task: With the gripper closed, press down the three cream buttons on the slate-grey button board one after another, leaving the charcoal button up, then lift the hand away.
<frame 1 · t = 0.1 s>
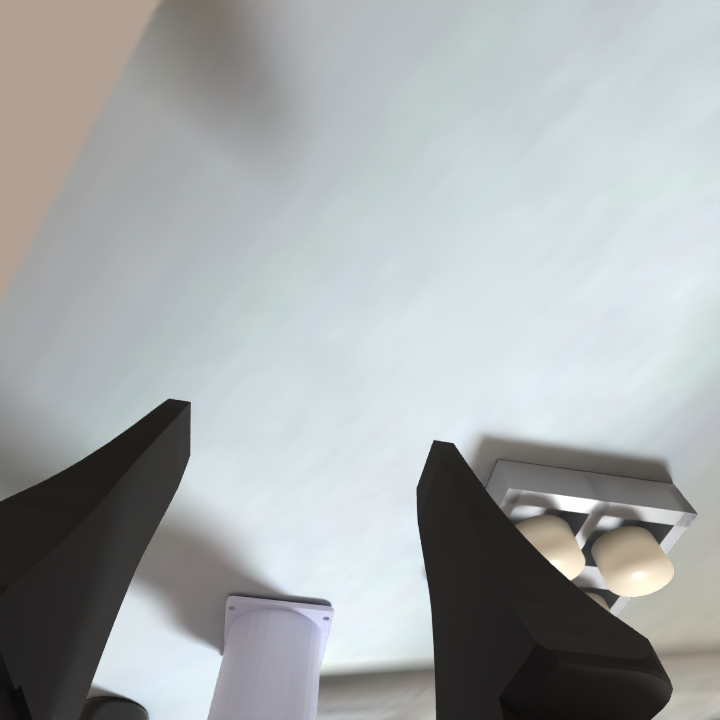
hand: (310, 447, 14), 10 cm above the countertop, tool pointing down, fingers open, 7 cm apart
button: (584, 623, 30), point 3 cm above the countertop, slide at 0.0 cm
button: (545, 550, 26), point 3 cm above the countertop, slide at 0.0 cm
supplement bottle: (116, 709, 43), on the countertop
button board: (546, 542, 31), on the countertop
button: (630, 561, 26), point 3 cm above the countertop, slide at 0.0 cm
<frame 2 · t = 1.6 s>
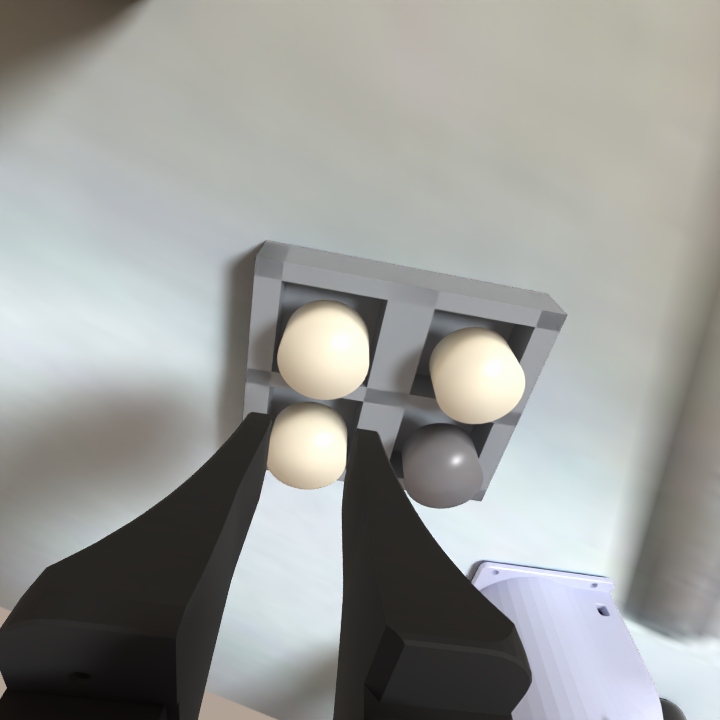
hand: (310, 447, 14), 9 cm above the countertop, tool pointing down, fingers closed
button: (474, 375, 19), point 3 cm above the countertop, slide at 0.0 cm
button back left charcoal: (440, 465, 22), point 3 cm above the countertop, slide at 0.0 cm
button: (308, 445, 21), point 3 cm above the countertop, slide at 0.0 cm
supplement bottle: (638, 711, 41), on the countertop
button board: (384, 372, 23), on the countertop
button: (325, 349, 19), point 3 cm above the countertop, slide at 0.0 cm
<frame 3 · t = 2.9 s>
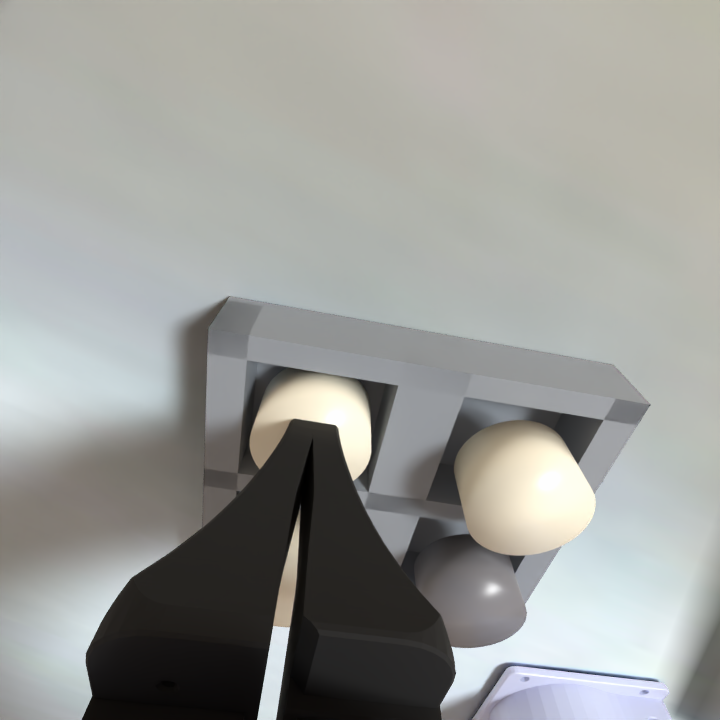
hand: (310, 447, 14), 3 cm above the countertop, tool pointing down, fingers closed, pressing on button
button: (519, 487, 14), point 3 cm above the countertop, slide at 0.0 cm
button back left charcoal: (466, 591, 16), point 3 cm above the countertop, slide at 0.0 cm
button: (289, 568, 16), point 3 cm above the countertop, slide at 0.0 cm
button board: (391, 458, 18), on the countertop
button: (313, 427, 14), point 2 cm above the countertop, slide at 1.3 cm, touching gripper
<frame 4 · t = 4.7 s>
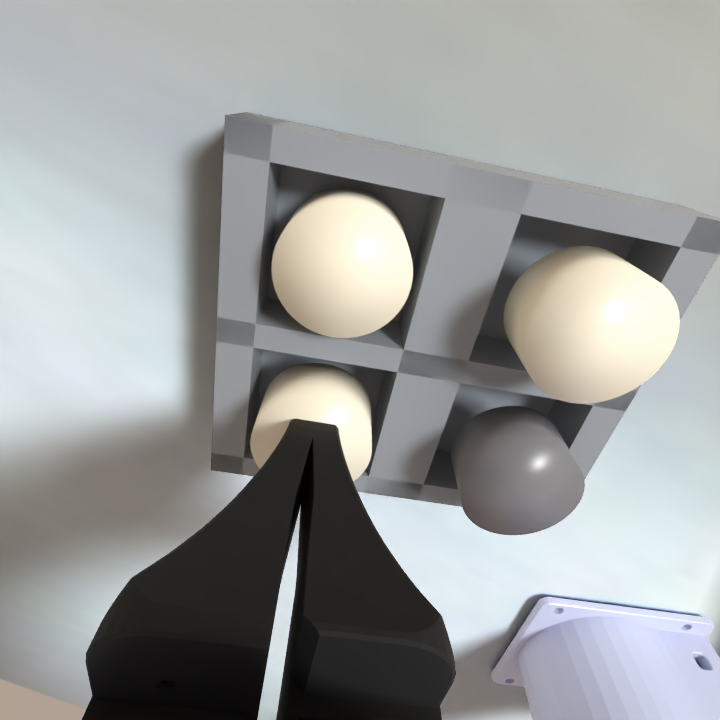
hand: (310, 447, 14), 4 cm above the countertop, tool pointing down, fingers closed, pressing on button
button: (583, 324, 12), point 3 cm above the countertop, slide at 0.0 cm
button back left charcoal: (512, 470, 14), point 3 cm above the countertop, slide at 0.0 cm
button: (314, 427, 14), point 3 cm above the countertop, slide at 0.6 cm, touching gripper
button board: (424, 332, 16), on the countertop
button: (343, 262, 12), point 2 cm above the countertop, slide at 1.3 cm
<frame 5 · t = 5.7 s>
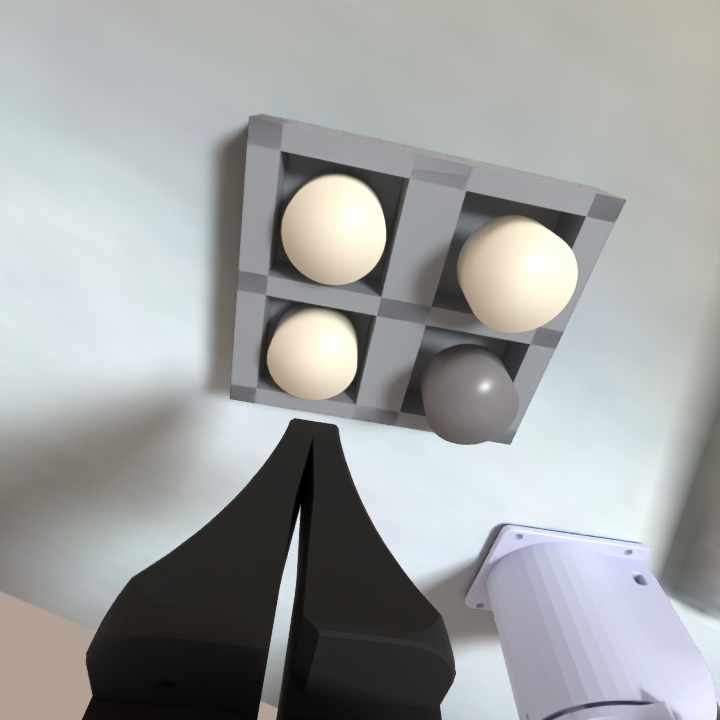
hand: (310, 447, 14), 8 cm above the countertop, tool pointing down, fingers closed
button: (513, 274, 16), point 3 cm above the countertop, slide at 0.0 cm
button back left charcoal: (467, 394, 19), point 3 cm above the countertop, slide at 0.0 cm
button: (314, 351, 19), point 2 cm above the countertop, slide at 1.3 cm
button board: (400, 289, 20), on the countertop
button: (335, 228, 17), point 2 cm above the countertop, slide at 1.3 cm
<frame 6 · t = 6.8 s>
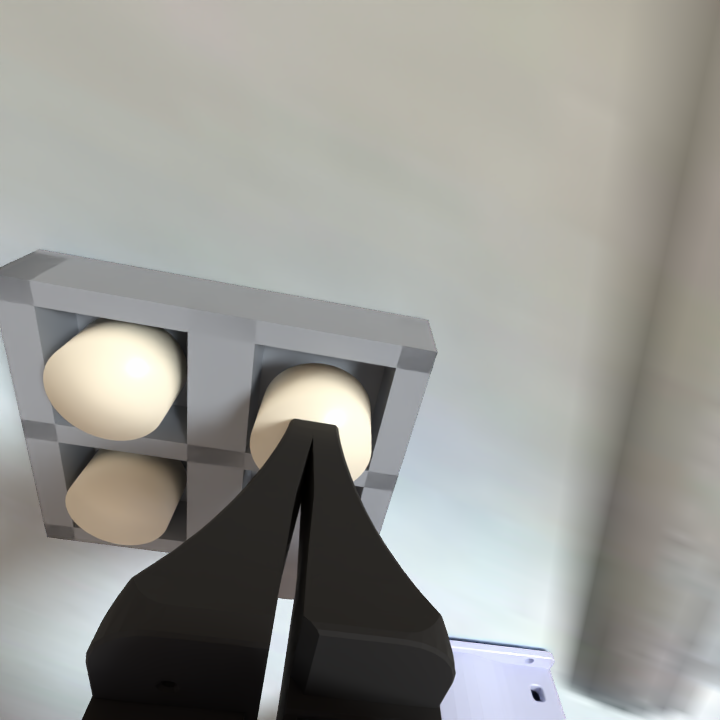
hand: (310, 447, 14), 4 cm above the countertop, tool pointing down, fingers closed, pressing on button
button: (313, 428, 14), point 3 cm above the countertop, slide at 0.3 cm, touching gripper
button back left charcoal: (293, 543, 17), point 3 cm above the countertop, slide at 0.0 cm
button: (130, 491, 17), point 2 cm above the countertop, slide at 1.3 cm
button board: (232, 417, 18), on the countertop
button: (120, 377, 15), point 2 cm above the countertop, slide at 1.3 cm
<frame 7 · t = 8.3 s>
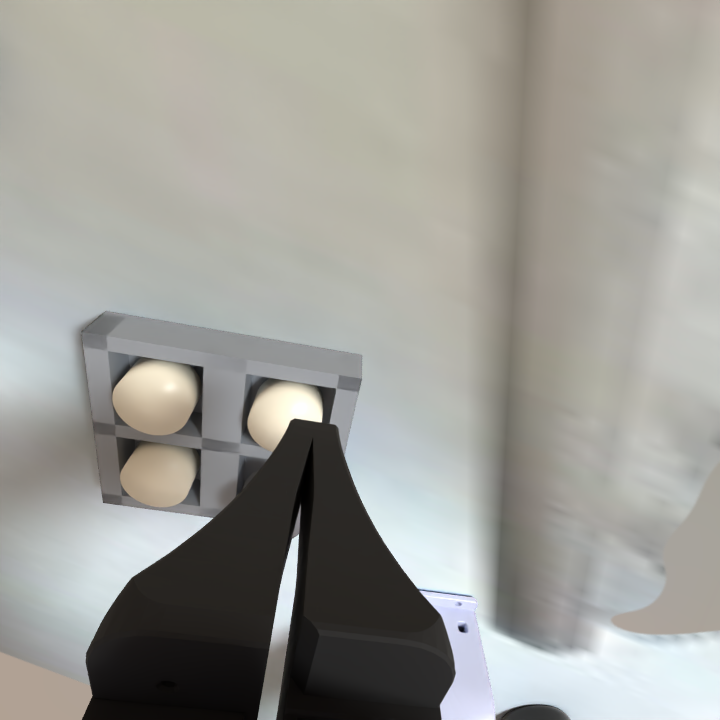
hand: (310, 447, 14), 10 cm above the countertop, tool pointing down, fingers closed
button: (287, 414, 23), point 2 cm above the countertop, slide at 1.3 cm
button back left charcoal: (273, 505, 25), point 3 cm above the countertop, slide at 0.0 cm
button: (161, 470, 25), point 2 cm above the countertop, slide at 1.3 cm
supplement bottle: (532, 717, 44), on the countertop
button board: (231, 419, 26), on the countertop
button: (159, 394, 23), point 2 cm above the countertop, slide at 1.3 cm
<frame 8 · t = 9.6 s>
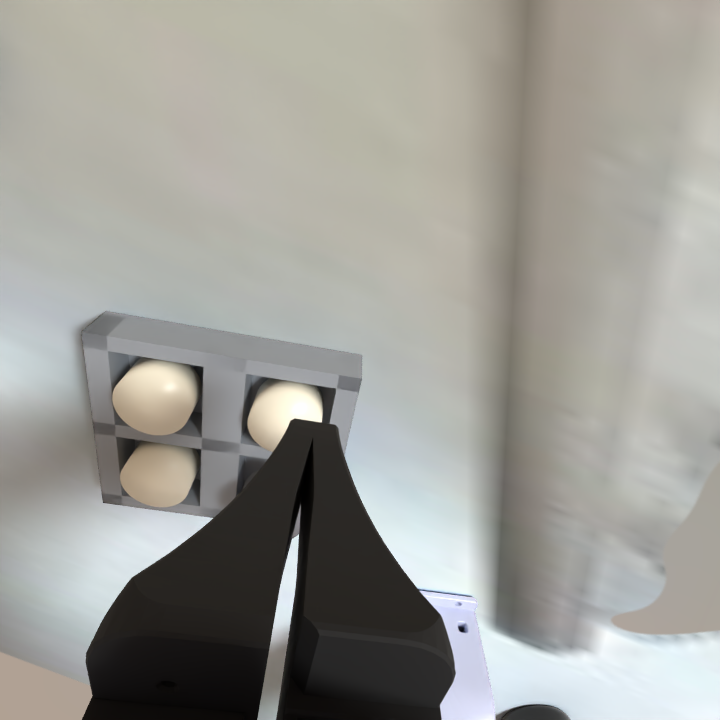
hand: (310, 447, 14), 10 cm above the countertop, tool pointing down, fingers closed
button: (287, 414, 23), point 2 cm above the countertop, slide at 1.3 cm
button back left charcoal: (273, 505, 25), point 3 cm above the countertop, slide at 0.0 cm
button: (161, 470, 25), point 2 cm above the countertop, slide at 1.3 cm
supplement bottle: (532, 717, 44), on the countertop
button board: (231, 419, 26), on the countertop
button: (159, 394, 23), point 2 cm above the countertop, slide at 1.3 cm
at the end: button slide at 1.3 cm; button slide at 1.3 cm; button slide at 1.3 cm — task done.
